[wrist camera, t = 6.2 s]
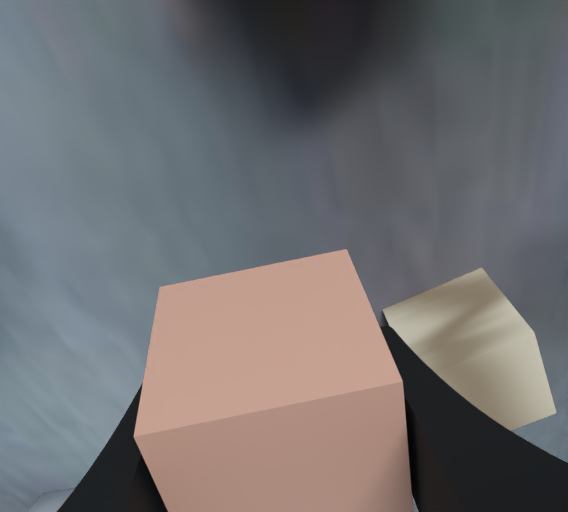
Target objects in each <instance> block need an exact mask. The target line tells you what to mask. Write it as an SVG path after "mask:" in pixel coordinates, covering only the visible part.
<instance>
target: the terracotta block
mask: <svg viewBox="0 0 568 512" xmlns="http://www.w3.org/2000/svg"><path fill="white" fill-rule="evenodd" d="M134 439H135V441H136V443H137V445H138V448H139V450H140V452H141V454H142V456H143V458H144V461H145V463H146V465H147V467H148V469H149V471H150V474H151V476H152V478H153V480H154V482H155V484H156V487H157V489H158V491H159V493H160V495H161V497H162V500H163V502H164V504H165V506H166V508H167V510H168V512H413V503H412V490H411V477H410V465H409V452H408V440H407V427H406V414H405V402H404V389H403V381H402V378H401V376H400V374H399V371H398V369H397V367H396V364H395V362H394V360H393V357H392V355H391V352H390V350H389V348H388V345H387V343H386V341H385V338H384V336H383V334H382V331H381V329H380V327H379V324H378V322H377V320H376V317H375V315H374V313H373V310H372V308H371V305H370V303H369V301H368V298H367V296H366V294H365V291H364V289H363V287H362V284H361V282H360V280H359V277H358V275H357V273H356V270H355V268H354V266H353V263H352V261H351V259H350V256H349V254H348V251H347V249H344V250H340V251H335V252H330V253H325V254H320V255H315V256H310V257H305V258H300V259H295V260H290V261H286V262H281V263H276V264H271V265H266V266H261V267H256V268H251V269H246V270H241V271H236V272H232V273H227V274H222V275H217V276H212V277H207V278H202V279H197V280H192V281H187V282H182V283H178V284H173V285H168V286H163V287H160V289H159V295H158V300H157V306H156V312H155V317H154V323H153V329H152V334H151V340H150V346H149V351H148V357H147V363H146V369H145V374H144V380H143V386H142V391H141V397H140V403H139V408H138V414H137V420H136V426H135V431H134Z"/></svg>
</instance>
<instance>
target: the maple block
mask: <svg viewBox="0 0 568 512" xmlns="http://www.w3.org/2000/svg"><path fill="white" fill-rule="evenodd" d="M383 312H384V315H385V317H386V319H387V321H388V324H389V326H390V327H392V328H393V329H394V330H395V331H396V333H397V334H398V335H399V336H400V337H401V338H402V340H403V341H404V342H405V343H406V344H407V345H408V346H409V347H410V348H411V349H412V350H413V351H414V353H415V354H416V355H417V356H418V357H419V358H420V359H421V360H422V361H423V362H424V363H425V364H426V365H427V366H429V367H430V368H431V369H432V370H433V371H434V372H435V373H436V374H437V375H438V376H439V377H440V378H441V379H443V380H444V381H445V382H446V383H447V384H448V385H449V386H451V387H452V388H453V389H454V390H455V391H457V392H458V393H459V394H460V395H461V396H463V397H464V398H465V399H466V400H468V401H469V402H470V403H471V404H473V405H474V406H475V407H477V408H478V409H479V410H481V411H482V412H483V413H485V414H486V415H488V416H489V417H491V418H492V419H493V420H495V421H496V422H498V423H499V424H501V425H502V426H504V427H505V428H507V429H508V430H510V431H511V430H514V429H516V428H519V427H522V426H524V425H527V424H529V423H532V422H535V421H537V420H540V419H543V418H545V417H548V416H550V415H553V414H556V409H555V406H554V402H553V398H552V395H551V391H550V387H549V384H548V380H547V377H546V373H545V369H544V366H543V362H542V358H541V355H540V351H539V347H538V344H537V340H536V336H535V333H534V331H533V330H532V329H531V328H530V326H529V325H528V324H527V323H526V322H525V320H524V319H523V318H522V317H521V315H520V314H519V313H518V312H517V310H516V309H515V308H514V307H513V306H512V304H511V303H510V302H509V301H508V299H507V298H506V297H505V296H504V294H503V293H502V292H501V291H500V290H499V288H498V287H497V286H496V285H495V283H494V282H493V281H492V280H491V278H490V277H489V276H488V275H487V274H486V272H485V271H484V270H483V269H482V268H480V269H477V270H475V271H473V272H470V273H468V274H465V275H463V276H461V277H458V278H456V279H454V280H451V281H449V282H447V283H444V284H442V285H440V286H437V287H435V288H433V289H430V290H428V291H426V292H423V293H421V294H419V295H416V296H414V297H412V298H409V299H407V300H404V301H402V302H400V303H397V304H395V305H393V306H390V307H388V308H386V309H383Z"/></svg>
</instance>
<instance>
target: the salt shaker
mask: <svg viewBox="0 0 568 512" xmlns="http://www.w3.org/2000/svg"><path fill="white" fill-rule="evenodd" d="M74 489H75V488H73V489H67V490H61V491H55V492H49V493H43V494H42V496H41V497H40V498H39V499H38V500H37V501H36V502H35V503H34V505H33V506H32V507H31V508H30V509H29V510H28V511H27V512H57V510H58V509H59V508H60V507H61V506H62V504H63V503H64V502H65V501H66V499H67V498H68V497H69V496H70V494H71V493H72V492H73V491H74Z"/></svg>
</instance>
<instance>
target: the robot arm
mask: <svg viewBox="0 0 568 512" xmlns="http://www.w3.org/2000/svg"><path fill="white" fill-rule="evenodd" d="M380 329H381V331H382V334H383V336H384V338H385V341H386V343H387V345H388V348H389V350H390V352H391V355H392V357H393V360H394V362H395V364H396V367H397V369H398V371H399V374H400V376H401V378H402V381H403V389H404V402H405V414H406V427H407V440H408V452H409V465H410V477H411V490H412V495H413V497H414V500H415V502H416V505H417V508H418V511H419V512H568V463H567V462H565V461H563V460H561V459H559V458H557V457H555V456H553V455H551V454H549V453H547V452H546V451H544V450H542V449H540V448H539V447H537V446H535V445H533V444H532V443H530V442H528V441H526V440H525V439H523V438H521V437H519V436H518V435H516V434H515V433H513V432H511V431H510V430H508V429H507V428H505V427H504V426H502V425H501V424H499V423H498V422H496V421H495V420H493V419H492V418H491V417H489V416H488V415H486V414H485V413H483V412H482V411H481V410H479V409H478V408H477V407H475V406H474V405H473V404H471V403H470V402H469V401H468V400H466V399H465V398H464V397H463V396H461V395H460V394H459V393H458V392H457V391H455V390H454V389H453V388H452V387H451V386H449V385H448V384H447V383H446V382H445V381H444V380H443V379H441V378H440V377H439V376H438V375H437V374H436V373H435V372H434V371H433V370H432V369H431V368H430V367H429V366H427V365H426V364H425V363H424V362H423V361H422V360H421V359H420V358H419V357H418V356H417V355H416V354H415V353H414V351H413V350H412V349H411V348H410V347H409V346H408V345H407V344H406V343H405V342H404V341H403V340H402V338H401V337H400V336H399V335H398V334H397V333H396V331H395V330H394V329H393V328H392V327H390V326H384V327H380ZM142 386H143V383H142V385H141V387H140V389H139V390H138V392H137V394H136V396H135V397H134V399H133V401H132V403H131V404H130V406H129V408H128V410H127V411H126V413H125V415H124V417H123V418H122V420H121V421H120V423H119V425H118V426H117V428H116V430H115V431H114V433H113V435H112V436H111V438H110V439H109V441H108V443H107V444H106V446H105V447H104V449H103V450H102V452H101V453H100V454H99V456H98V457H97V459H96V460H95V462H94V463H93V465H92V466H91V468H90V469H89V471H88V472H87V473H86V475H85V476H84V477H83V479H82V480H81V482H80V483H79V484H78V485H77V487H76V488H75V489H74V491H73V492H72V493H71V494H70V496H69V497H68V498H67V499H66V501H65V502H64V503H63V504H62V506H61V507H60V508H59V509H58V510H57V512H168V510H167V508H166V506H165V504H164V502H163V500H162V497H161V495H160V493H159V491H158V489H157V487H156V484H155V482H154V480H153V478H152V476H151V474H150V471H149V469H148V467H147V465H146V463H145V461H144V458H143V456H142V454H141V452H140V450H139V448H138V445H137V443H136V441H135V439H134V431H135V426H136V420H137V414H138V408H139V403H140V397H141V391H142Z"/></svg>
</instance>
